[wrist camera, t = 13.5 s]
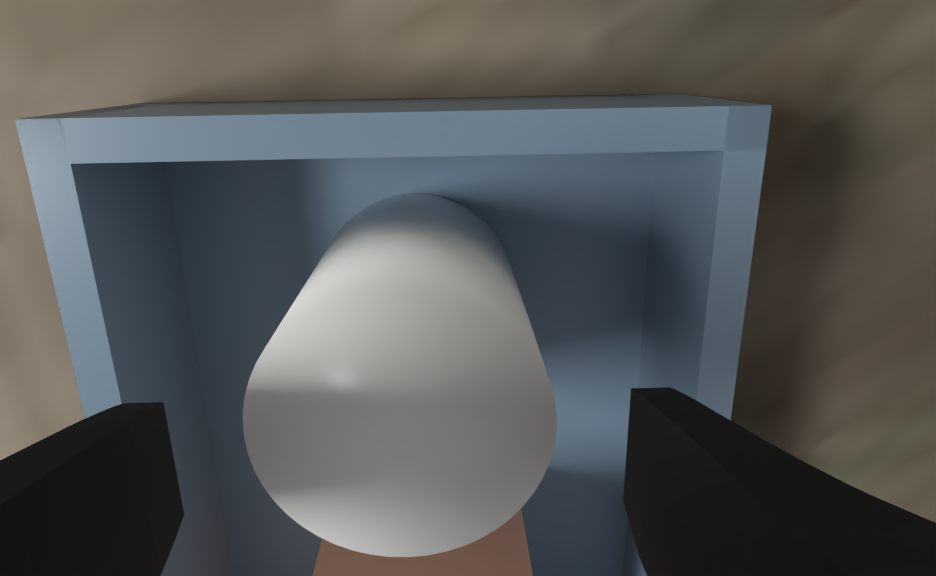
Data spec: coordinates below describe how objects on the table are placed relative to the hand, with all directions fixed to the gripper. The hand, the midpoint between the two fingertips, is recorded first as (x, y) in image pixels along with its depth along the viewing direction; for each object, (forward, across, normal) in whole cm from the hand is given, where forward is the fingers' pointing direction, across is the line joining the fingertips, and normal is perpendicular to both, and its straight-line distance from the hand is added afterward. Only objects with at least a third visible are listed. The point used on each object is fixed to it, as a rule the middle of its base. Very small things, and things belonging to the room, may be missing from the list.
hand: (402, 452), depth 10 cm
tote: (+8, 0, +4) cm, 9 cm away
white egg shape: (+7, 0, 0) cm, 7 cm away
